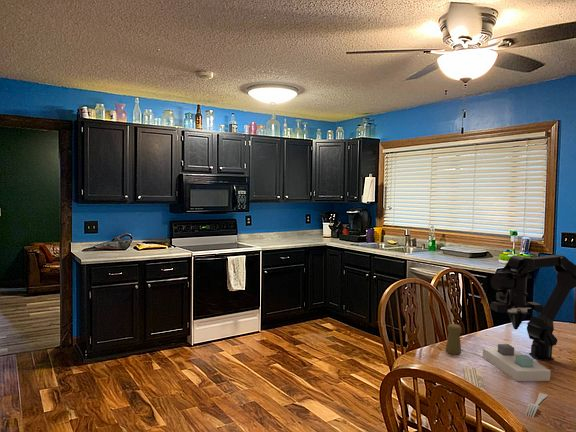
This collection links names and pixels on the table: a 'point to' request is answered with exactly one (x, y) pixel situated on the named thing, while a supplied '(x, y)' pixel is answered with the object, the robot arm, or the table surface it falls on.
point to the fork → (540, 398)
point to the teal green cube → (524, 361)
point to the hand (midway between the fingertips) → (515, 329)
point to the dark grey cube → (506, 349)
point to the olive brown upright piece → (453, 339)
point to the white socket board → (516, 366)
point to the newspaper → (474, 377)
